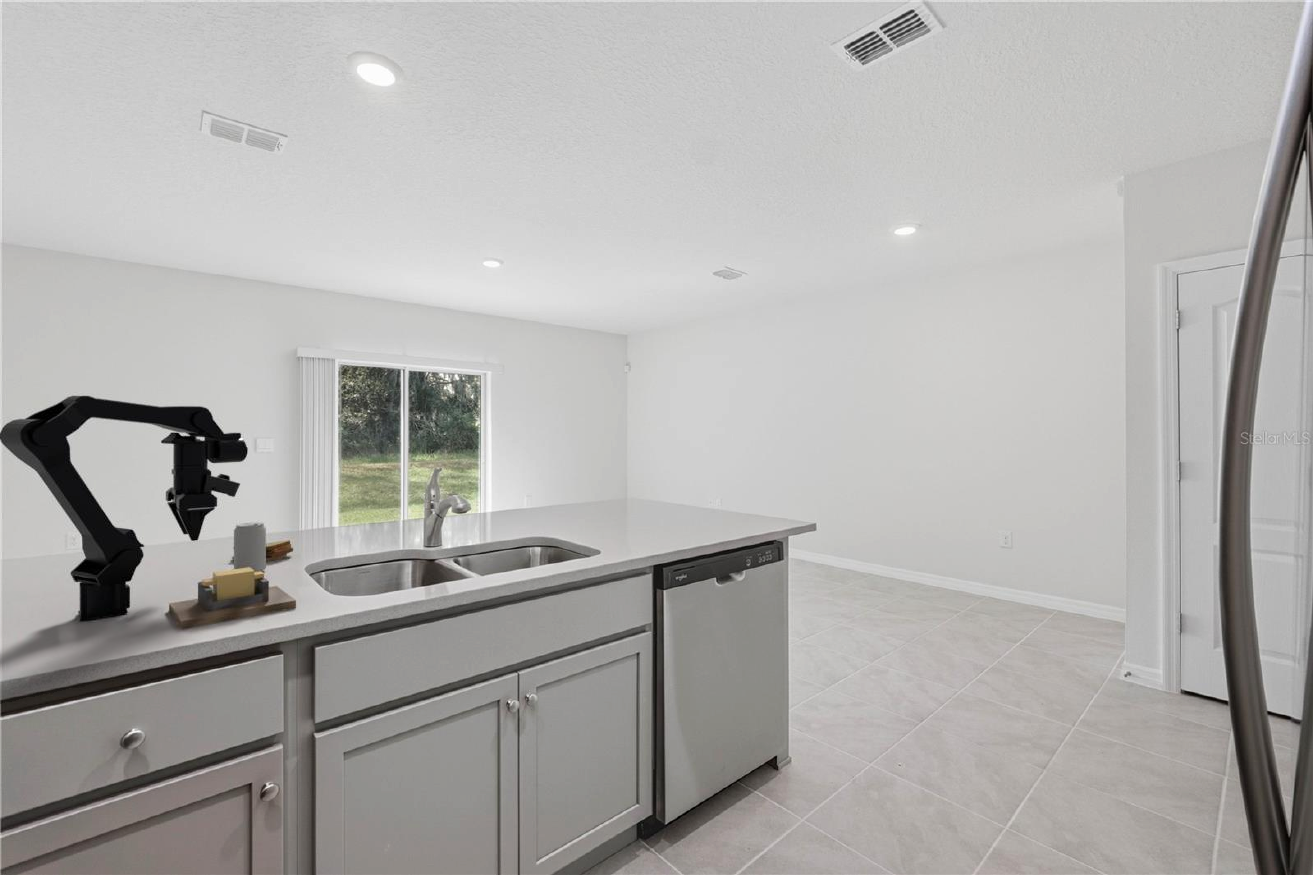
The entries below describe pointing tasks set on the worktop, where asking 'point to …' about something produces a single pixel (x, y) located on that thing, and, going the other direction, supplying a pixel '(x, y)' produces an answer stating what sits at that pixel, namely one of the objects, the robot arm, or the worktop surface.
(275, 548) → the toy sandwich meal
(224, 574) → the block
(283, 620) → the worktop surface
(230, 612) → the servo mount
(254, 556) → the beverage can
